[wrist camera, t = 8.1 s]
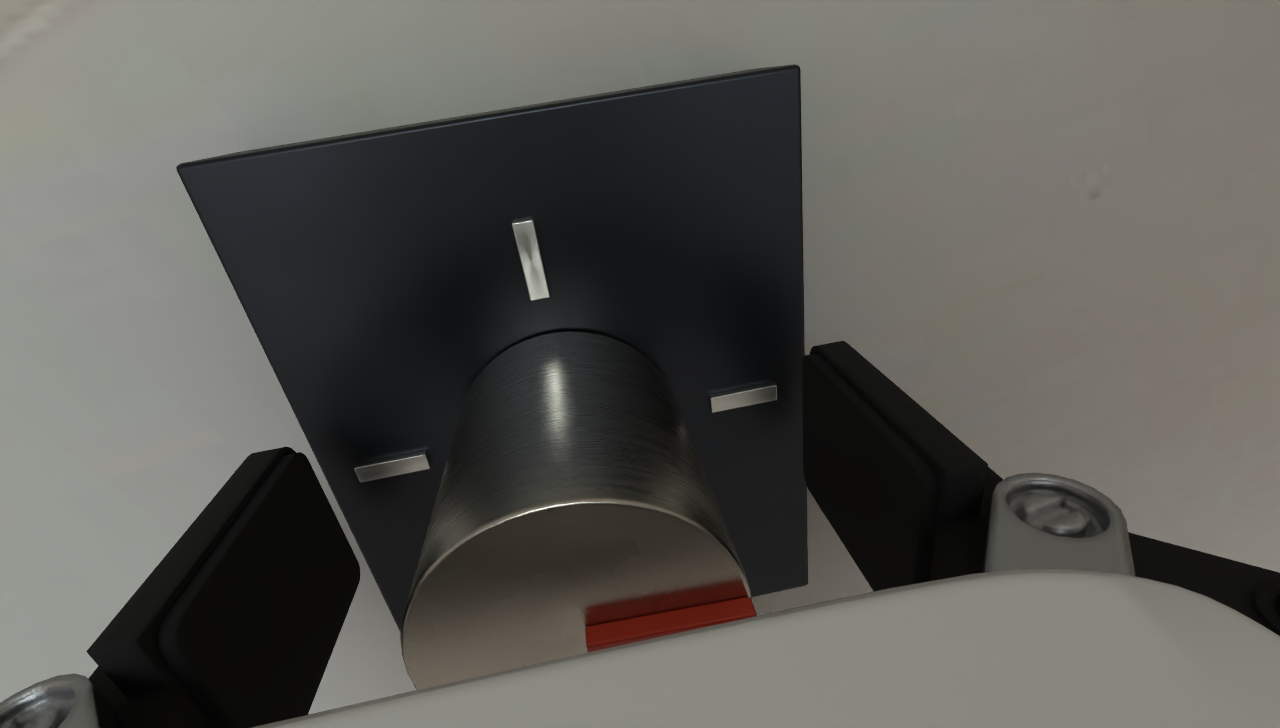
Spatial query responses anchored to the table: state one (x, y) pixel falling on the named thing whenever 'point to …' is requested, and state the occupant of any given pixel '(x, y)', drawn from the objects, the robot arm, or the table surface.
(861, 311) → the table surface
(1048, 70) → the table surface
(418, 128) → the panel
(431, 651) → the dial
